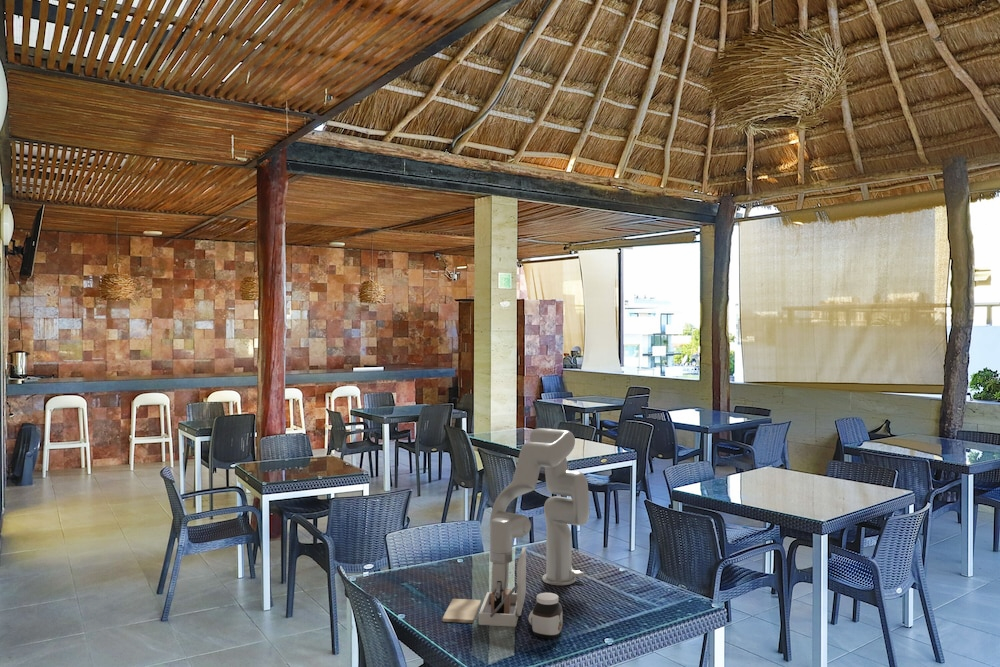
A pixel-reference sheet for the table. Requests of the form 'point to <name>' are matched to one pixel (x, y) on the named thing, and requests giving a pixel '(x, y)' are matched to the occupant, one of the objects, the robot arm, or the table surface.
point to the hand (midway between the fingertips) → (500, 607)
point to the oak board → (462, 611)
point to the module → (506, 604)
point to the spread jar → (546, 616)
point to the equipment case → (516, 599)
